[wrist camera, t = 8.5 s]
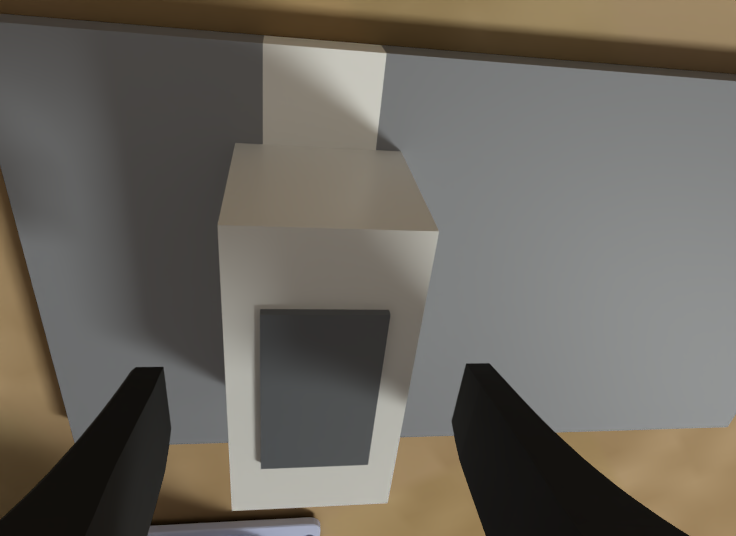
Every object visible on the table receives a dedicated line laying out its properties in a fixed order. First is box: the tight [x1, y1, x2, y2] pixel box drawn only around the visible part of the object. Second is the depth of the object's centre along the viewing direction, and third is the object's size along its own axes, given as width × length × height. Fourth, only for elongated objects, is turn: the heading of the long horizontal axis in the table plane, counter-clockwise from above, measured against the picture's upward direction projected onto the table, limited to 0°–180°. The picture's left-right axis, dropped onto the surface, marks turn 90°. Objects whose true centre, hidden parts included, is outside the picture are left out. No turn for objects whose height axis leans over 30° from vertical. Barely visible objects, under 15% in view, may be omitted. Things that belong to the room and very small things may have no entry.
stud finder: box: [217, 143, 439, 511], centre depth 15 cm, size 9×4×5 cm, turn 174°
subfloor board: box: [0, 14, 736, 444], centre depth 18 cm, size 14×26×1 cm, turn 84°
